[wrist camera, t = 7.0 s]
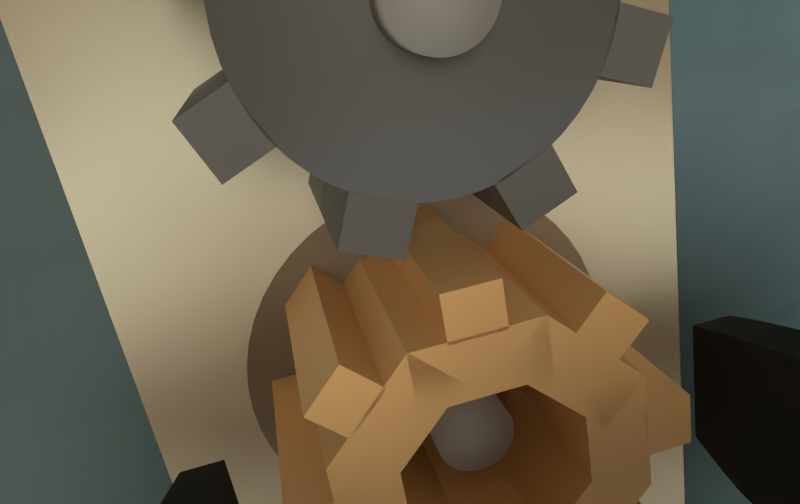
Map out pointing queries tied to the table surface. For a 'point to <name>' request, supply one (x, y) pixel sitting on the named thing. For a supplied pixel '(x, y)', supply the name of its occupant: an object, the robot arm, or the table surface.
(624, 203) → the gear board
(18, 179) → the table surface
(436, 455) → the orange gear
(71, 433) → the table surface
